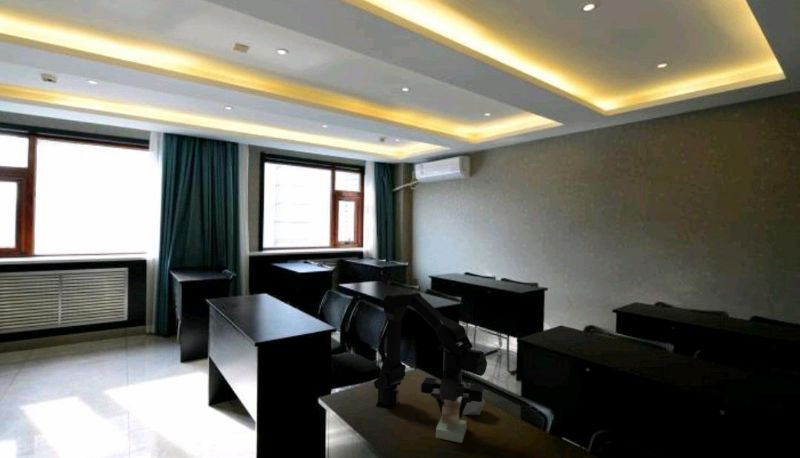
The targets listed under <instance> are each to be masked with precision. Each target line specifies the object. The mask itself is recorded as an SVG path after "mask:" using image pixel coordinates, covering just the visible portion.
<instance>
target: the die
mask: <svg viewBox="0 0 800 458" xmlns="http://www.w3.org/2000/svg"><path fill="white" fill-rule="evenodd" d="M461 399H462V397H457V399H456V401H458V402H461ZM485 403H486V401H485V399H484V398H483V400H482V402H476V401H471V403H467V404H466V406H465V408H464V411H463V414H462V415H464V416H480V414H481V412H482V409H483V408H484V406H485Z"/></svg>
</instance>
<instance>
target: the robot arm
mask: <svg viewBox="0 0 800 458" xmlns="http://www.w3.org/2000/svg"><path fill="white" fill-rule="evenodd" d="M382 304H383V313H384V315H385V317H386V318H387V325H386V326H387V327H386V329H387V330H386V346H385V347H386V351H385V353H386V354H385V360H384V362H383V364H382V366H381V367H380V373H379V377H378V378H377V379H376V380H374V381H373V385H374V389H375V390H377V402H376V403H375V406H376V407H379V408H386V409H391V410H393V409H394V408H395V407H396V405H398V404H399V398H400V397H399V395H400V394H399V393H400V392H399V390H398V386H400V385H401V383H402V381H403V380H404V379H405V377H406V367H407V366H406V364H404V363H403V362H402V361H401V343H402V342H401V341H402V340H401V339H402V326H403V325H402V322H403V318H404V315H406V312H407V310H408V306H410V307H411V308H412V309H413V310H415V312H417V314H419V315H420V317H422V319H424V320H425V321H426V322H427V323H428V324H429V325H431V326H432V327H433V329H434V330H435V332H436V336H437V337H438V338H439V340H440V341H441V342H442V343H441V344H440V345H439V346H438V347H437V349H438V350H440V351H443V363H442V365H443V366H442V367H443V368H442V369H443V372H442V378H441V381H440V382H438V380H437V378H434V377H425V378H424V379H423V380H422V382H421V384H420V393H422V394H430V396H431V397H433V398H434V399H435V400H436V402H437V404H438V408H439V411H440V413H441V415H442V406H443V404H444V401H445V400H450V401H457V400H458V398H459V397H462V399H461V407H460V414H459V418H460V420H462V416H463V415H464V414H463V411H464V408H465V406H466V404H467V403H471V401H476V402H482V400H483V399H484V394H485V392H484V391H485V388H484V386H483V385H481V384H473V383H470V386H469V387H468V386H466V387H465V385H464V383H463V380H462V379H463V371H464V372H466V373H469V374H472V375H477V376H479V377H483V375H485V373H486V371H487V369H488V368H487V367H488V361H487V357H486V356H485V355H484V351H483V350H478V349H476V350H475V349H473V348H474V346H473V344H472V343H471V341H470V339H469V337H468V335H467V333H466V329H465V327H464V326H463V325H461V324H460V323H459V322H456V321H455V320H453V319H450V318H447V317H446V316H444V315H443V314H442V313H441V311H439V310H438V309H436V308H435V307H434V306H433V305H432V304H431V303H430V302H428V301H427V300H426V299H425V298H424V297H423V296H422V294H421V293H420V292H418V291H415V292H411V293H407V294H404V293H402V292H398V293H393V294H388V295H387V294H386V295H385V297H384V298H383V301H382ZM459 344H460V345H459Z"/></svg>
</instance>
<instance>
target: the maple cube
mask: <svg viewBox="0 0 800 458" xmlns="http://www.w3.org/2000/svg"><path fill="white" fill-rule="evenodd" d="M460 407H461V402H458V401H457V400H456V401H450V400H444V404H443V406H442V414H441V417H442V423H445V424H451V425H456V426H458V425H459V422H460V420H461V419H460V418H459V414H460Z"/></svg>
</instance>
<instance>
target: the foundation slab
mask: <svg viewBox="0 0 800 458" xmlns="http://www.w3.org/2000/svg"><path fill="white" fill-rule="evenodd" d="M466 431H467V420H464V419H460V422H459V425H458V426H456V425H451V424H445V423H442V416H441V417H440V419H439V421H438V423H437V426H436V428H435V438H436V439H442V440H445V441H446V440H447V441H451V442H454V443H455V442H456V443H461V444H463V442H464V441H463V440H464V438H465V435H466Z"/></svg>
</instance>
